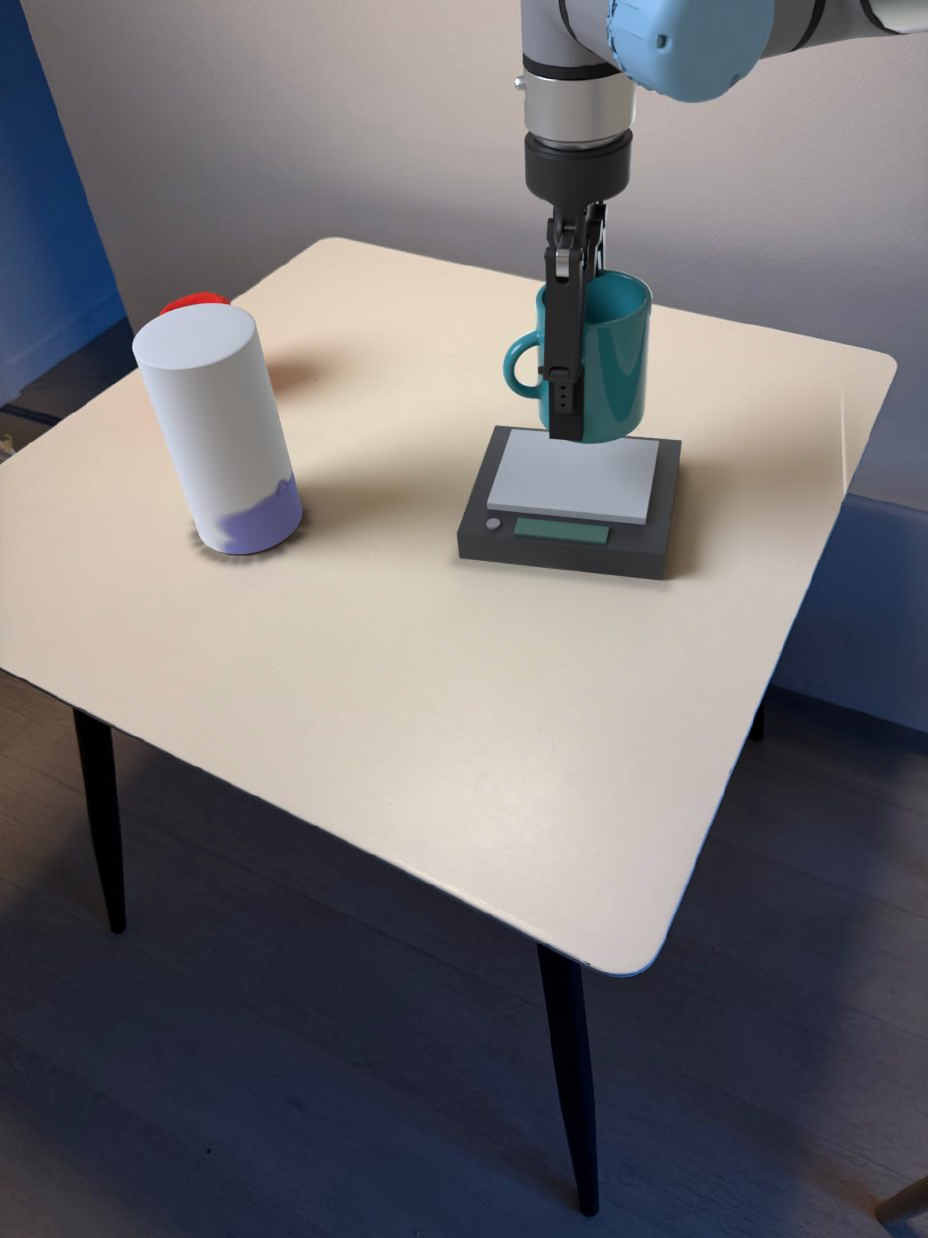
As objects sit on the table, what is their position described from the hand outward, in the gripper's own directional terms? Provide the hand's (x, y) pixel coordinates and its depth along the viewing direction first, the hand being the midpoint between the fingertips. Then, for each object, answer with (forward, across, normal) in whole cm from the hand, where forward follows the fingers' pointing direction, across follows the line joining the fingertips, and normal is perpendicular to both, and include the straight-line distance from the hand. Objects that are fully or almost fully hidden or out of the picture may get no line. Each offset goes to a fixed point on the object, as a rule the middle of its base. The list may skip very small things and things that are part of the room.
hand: (575, 402), depth 85 cm
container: (+11, +7, -30) cm, 33 cm away
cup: (+1, +1, 0) cm, 2 cm away
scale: (+11, +1, 0) cm, 11 cm away
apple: (+11, -13, -42) cm, 45 cm away
